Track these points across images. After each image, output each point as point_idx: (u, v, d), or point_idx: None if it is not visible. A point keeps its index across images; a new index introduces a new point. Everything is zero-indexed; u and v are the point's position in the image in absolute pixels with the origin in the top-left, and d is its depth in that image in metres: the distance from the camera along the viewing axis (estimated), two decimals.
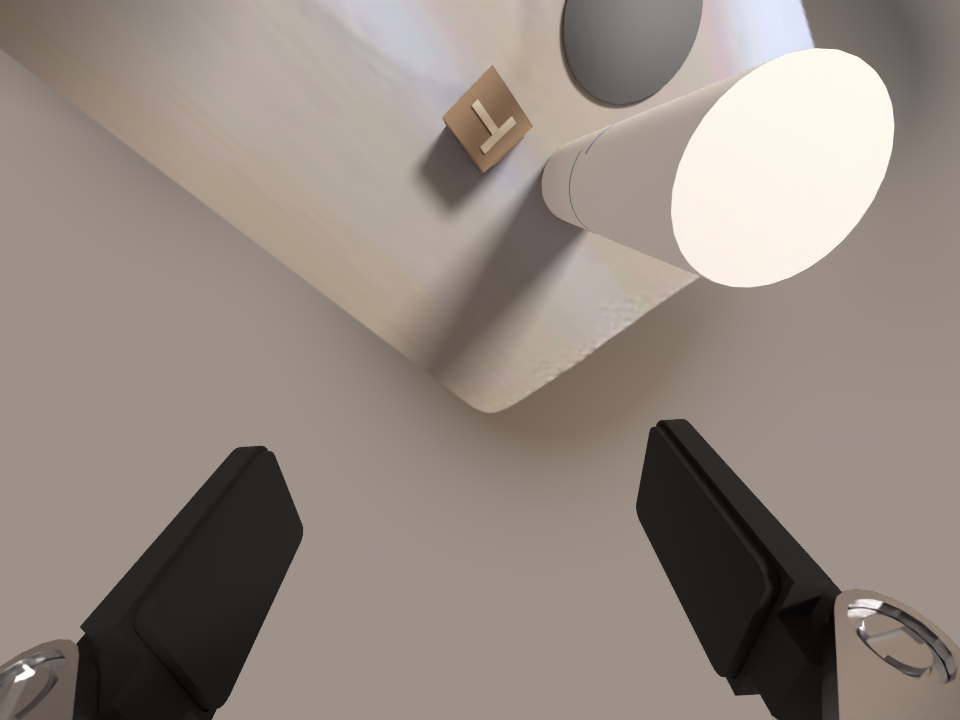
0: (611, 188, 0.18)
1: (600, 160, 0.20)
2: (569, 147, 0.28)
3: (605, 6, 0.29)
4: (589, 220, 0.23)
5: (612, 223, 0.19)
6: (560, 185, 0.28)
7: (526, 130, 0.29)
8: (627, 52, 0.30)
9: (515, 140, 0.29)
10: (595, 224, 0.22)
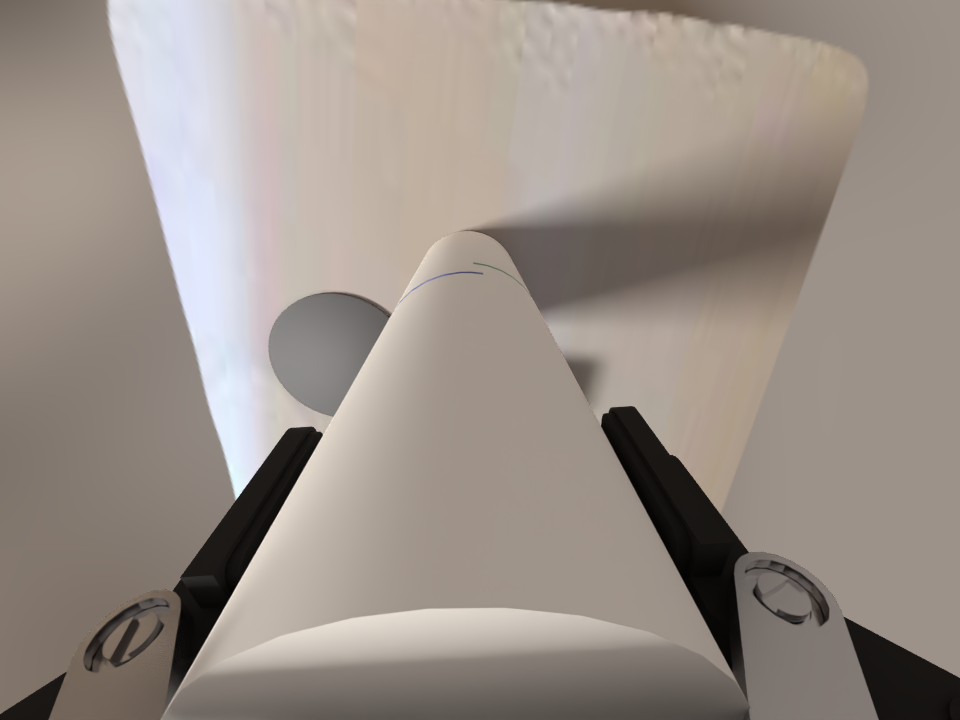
0: None
1: None
2: None
3: None
4: None
5: None
6: None
7: None
8: (356, 345, 0.29)
9: None
10: None
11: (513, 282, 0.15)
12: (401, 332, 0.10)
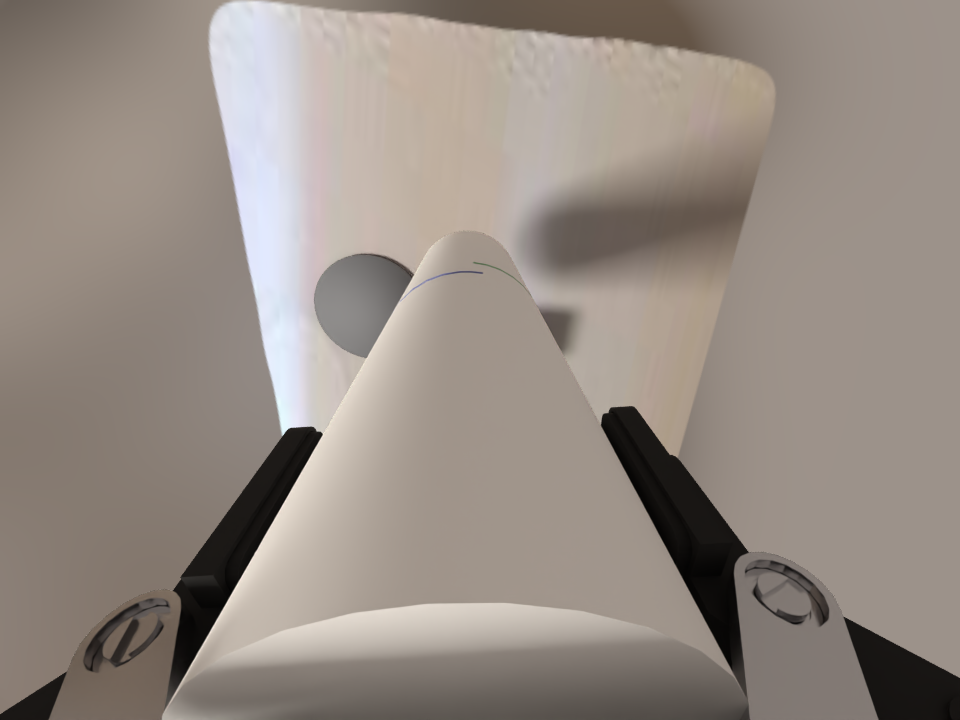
0: None
1: None
2: None
3: None
4: None
5: None
6: None
7: None
8: (383, 297, 0.36)
9: None
10: None
11: (513, 282, 0.15)
12: (401, 331, 0.10)
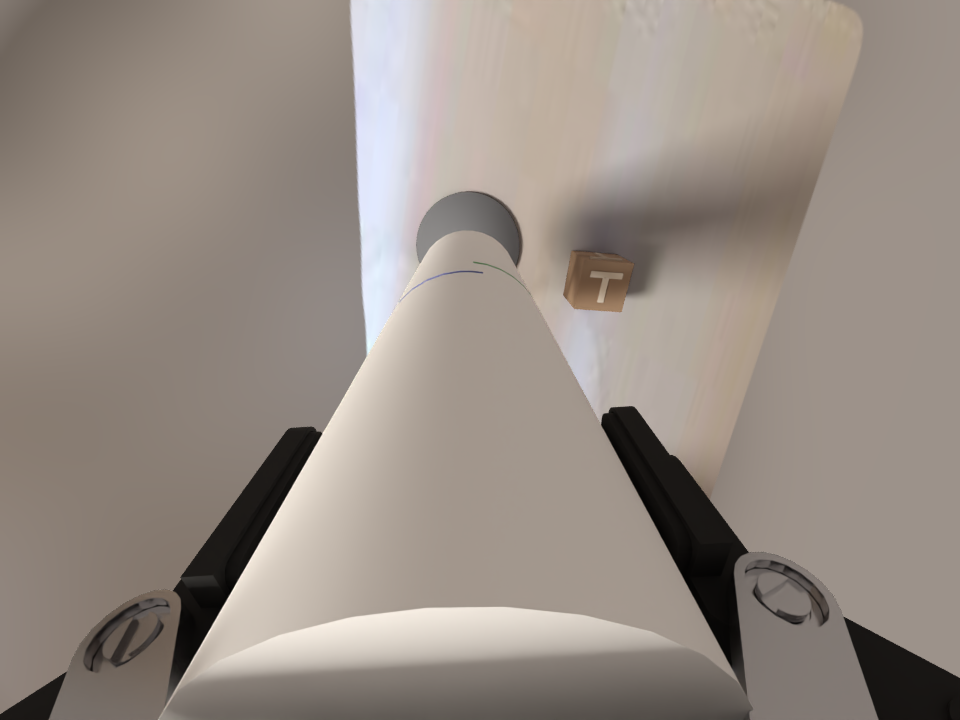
0: None
1: None
2: None
3: None
4: None
5: None
6: None
7: (589, 261, 0.36)
8: None
9: (600, 262, 0.36)
10: None
11: (513, 281, 0.15)
12: (401, 331, 0.10)
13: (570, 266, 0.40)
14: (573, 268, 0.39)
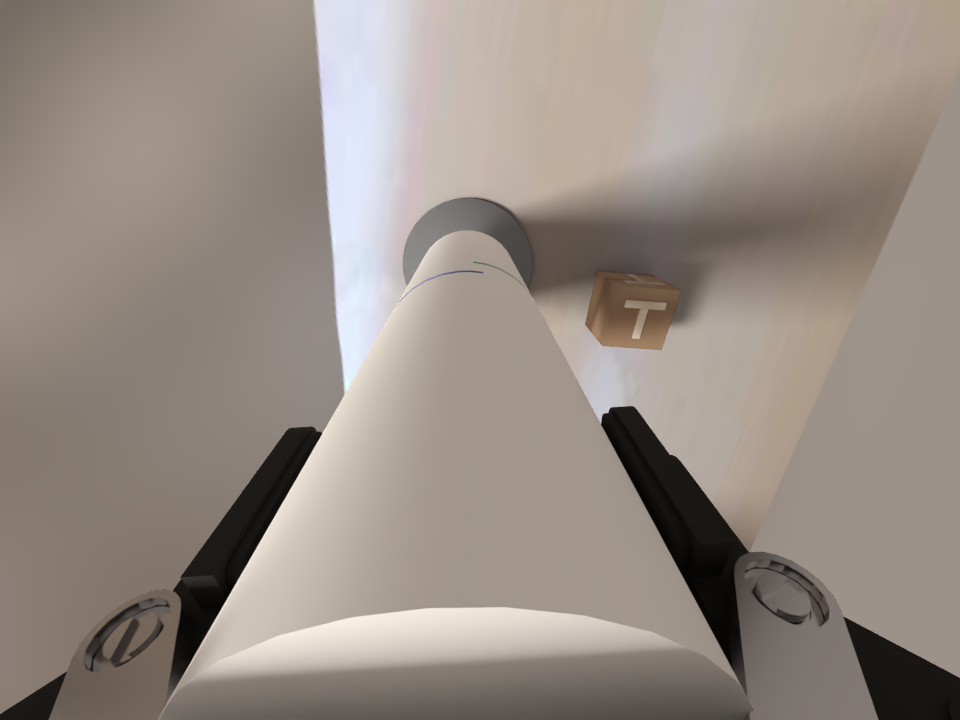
0: None
1: None
2: None
3: None
4: None
5: None
6: None
7: (624, 287, 0.28)
8: None
9: (638, 289, 0.28)
10: None
11: (513, 281, 0.15)
12: (401, 331, 0.10)
13: (594, 290, 0.32)
14: (600, 294, 0.31)
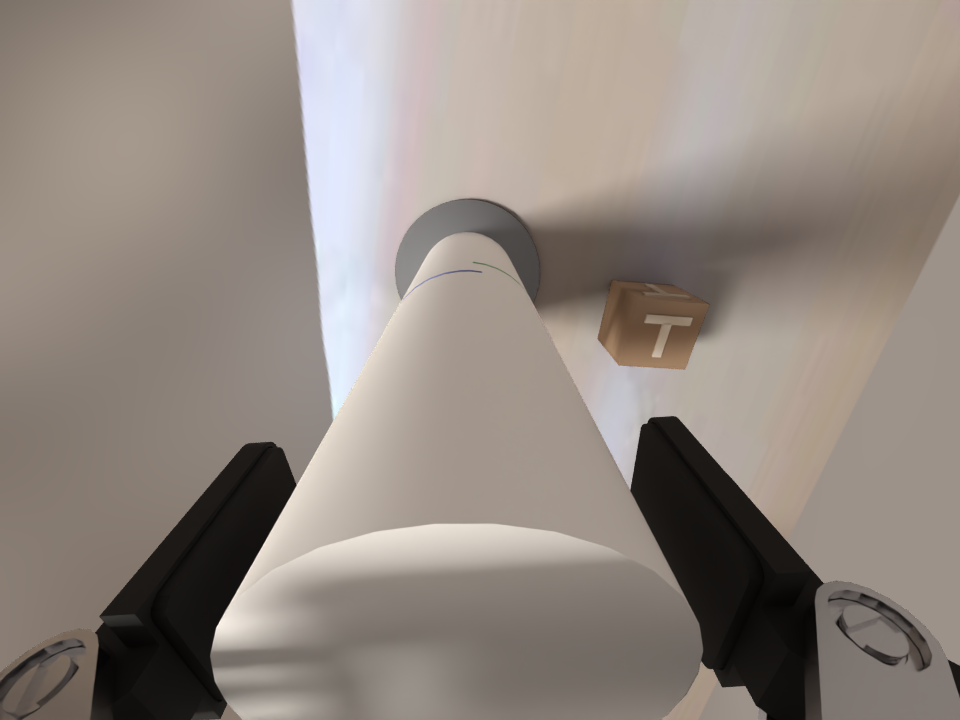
0: None
1: None
2: None
3: None
4: None
5: None
6: None
7: (645, 300, 0.24)
8: None
9: (661, 302, 0.24)
10: None
11: (510, 280, 0.16)
12: (406, 324, 0.11)
13: (609, 302, 0.29)
14: (616, 307, 0.28)
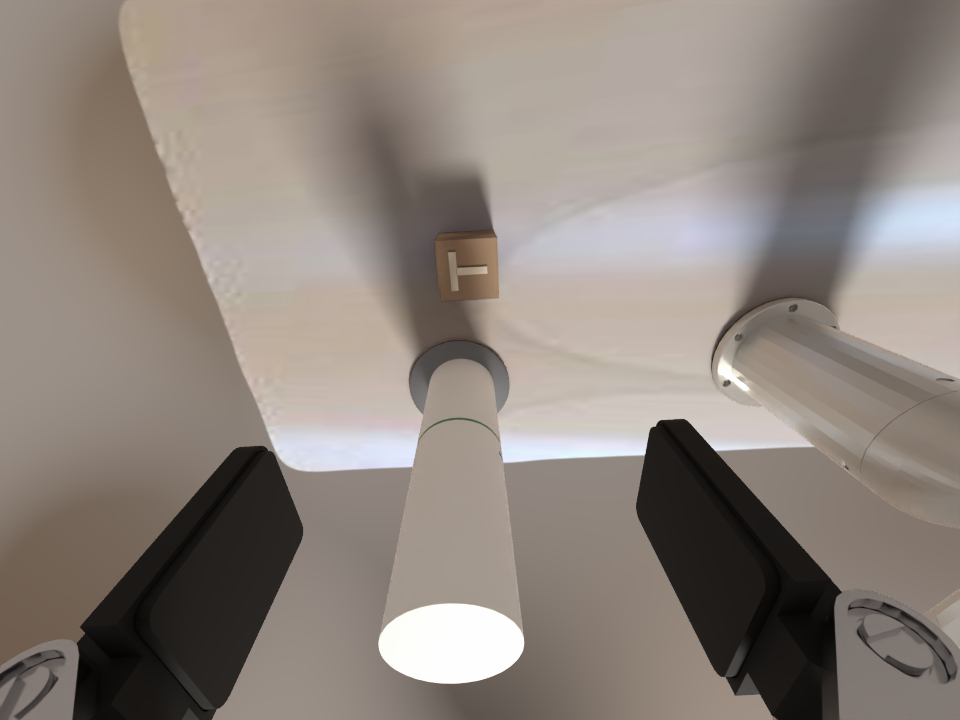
0: (486, 506, 0.22)
1: (498, 483, 0.25)
2: None
3: None
4: (456, 443, 0.26)
5: (459, 491, 0.22)
6: (481, 405, 0.32)
7: (441, 295, 0.31)
8: None
9: (440, 282, 0.31)
10: (453, 452, 0.26)
11: (417, 448, 0.29)
12: None
13: None
14: None
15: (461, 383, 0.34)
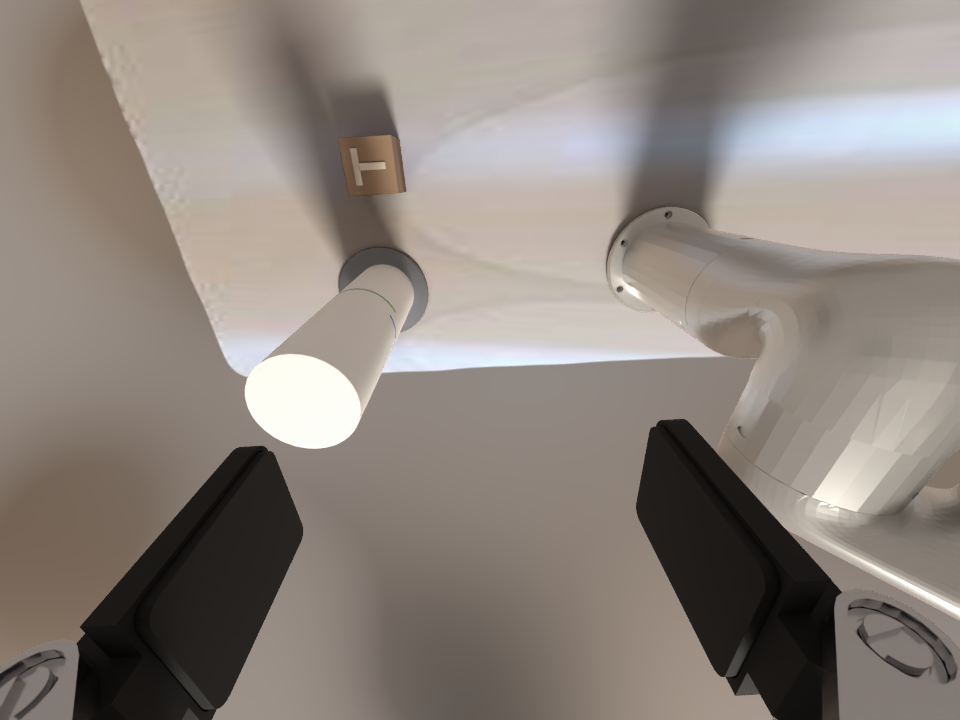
0: (353, 326, 0.27)
1: (376, 324, 0.30)
2: (406, 302, 0.40)
3: None
4: (346, 298, 0.32)
5: (333, 316, 0.28)
6: (385, 287, 0.37)
7: (348, 189, 0.36)
8: None
9: (346, 177, 0.36)
10: (341, 301, 0.31)
11: None
12: None
13: None
14: None
15: (373, 274, 0.39)
